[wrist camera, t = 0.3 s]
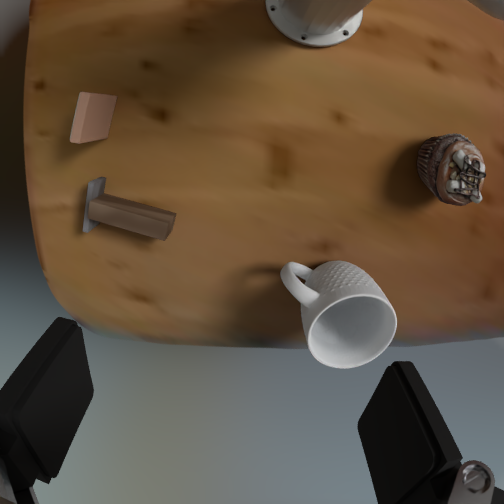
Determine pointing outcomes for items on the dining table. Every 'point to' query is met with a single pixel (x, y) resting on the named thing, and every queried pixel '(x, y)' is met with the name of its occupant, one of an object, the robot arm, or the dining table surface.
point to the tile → (92, 117)
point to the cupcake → (452, 169)
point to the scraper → (125, 213)
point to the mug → (341, 312)
